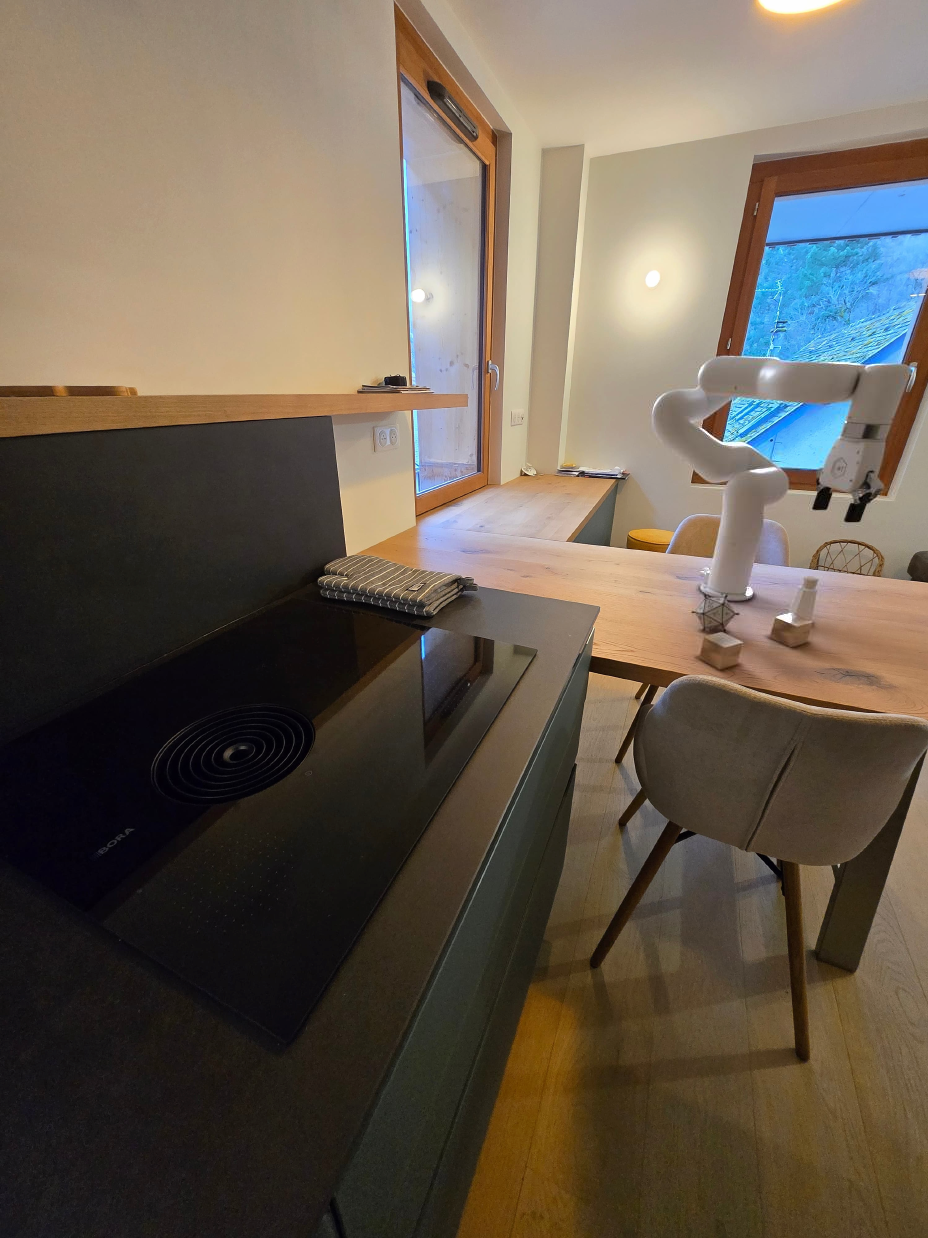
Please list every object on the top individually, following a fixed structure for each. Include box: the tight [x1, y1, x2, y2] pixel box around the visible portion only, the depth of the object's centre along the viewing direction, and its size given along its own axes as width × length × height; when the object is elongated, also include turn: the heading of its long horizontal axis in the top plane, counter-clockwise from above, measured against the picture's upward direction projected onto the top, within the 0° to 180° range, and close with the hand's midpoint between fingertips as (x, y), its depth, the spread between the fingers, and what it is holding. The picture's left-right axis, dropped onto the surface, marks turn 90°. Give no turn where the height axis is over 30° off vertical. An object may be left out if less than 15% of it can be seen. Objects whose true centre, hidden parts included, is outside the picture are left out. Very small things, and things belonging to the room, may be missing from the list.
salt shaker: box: [786, 575, 820, 621], centre depth 113 cm, size 5×5×11 cm
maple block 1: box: [698, 631, 744, 671], centre depth 99 cm, size 5×5×5 cm
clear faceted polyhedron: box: [690, 593, 740, 632], centre depth 111 cm, size 9×8×10 cm
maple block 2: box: [769, 613, 814, 648], centre depth 106 cm, size 5×5×5 cm
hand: (834, 515), depth 107 cm, fingers open, 9 cm apart
